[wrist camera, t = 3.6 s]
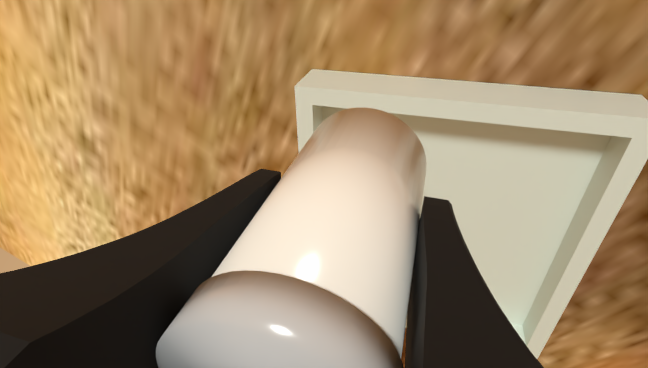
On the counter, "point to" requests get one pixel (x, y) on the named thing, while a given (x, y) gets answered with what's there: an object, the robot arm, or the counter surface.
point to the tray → (509, 173)
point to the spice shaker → (317, 260)
